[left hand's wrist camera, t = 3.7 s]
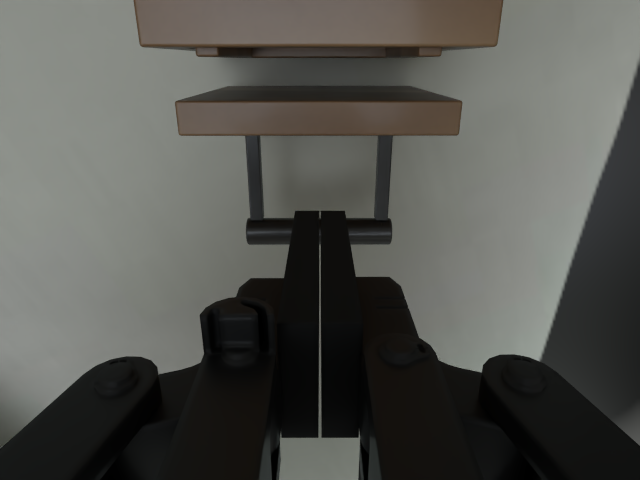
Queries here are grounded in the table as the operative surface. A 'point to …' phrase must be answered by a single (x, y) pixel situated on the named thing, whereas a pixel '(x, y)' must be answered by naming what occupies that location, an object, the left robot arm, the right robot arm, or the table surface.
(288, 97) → the drawer
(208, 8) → the cabinet
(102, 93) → the table surface
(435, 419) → the left robot arm
